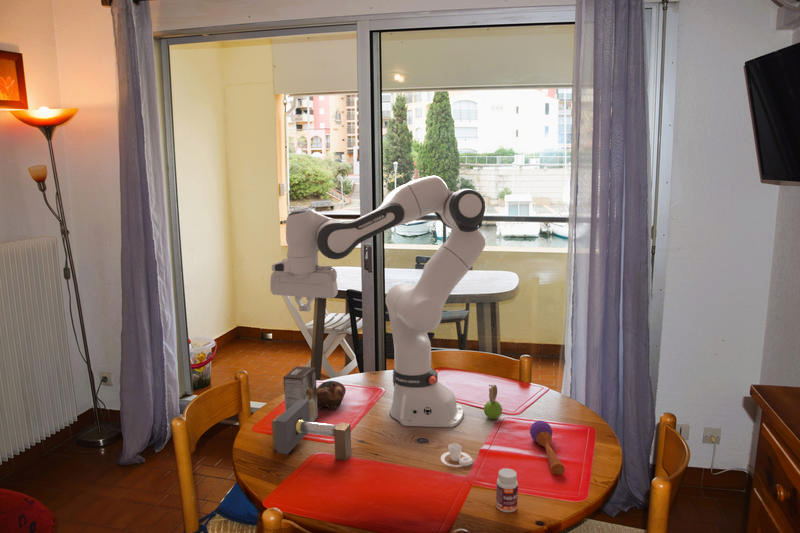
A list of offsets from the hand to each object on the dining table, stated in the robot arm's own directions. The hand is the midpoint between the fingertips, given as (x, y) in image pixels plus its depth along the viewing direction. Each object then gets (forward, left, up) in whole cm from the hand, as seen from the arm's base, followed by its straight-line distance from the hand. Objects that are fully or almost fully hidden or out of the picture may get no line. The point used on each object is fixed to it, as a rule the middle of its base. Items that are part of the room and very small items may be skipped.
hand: (305, 310), depth 173 cm
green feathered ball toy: (-54, -12, -33) cm, 65 cm away
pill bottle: (-63, +31, -33) cm, 78 cm away
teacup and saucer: (-48, +17, -34) cm, 61 cm away
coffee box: (0, +5, -33) cm, 34 cm away
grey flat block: (-5, +20, -31) cm, 37 cm away
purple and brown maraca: (-71, +5, -34) cm, 78 cm away
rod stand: (-10, +20, -33) cm, 40 cm away
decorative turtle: (-3, -9, -33) cm, 35 cm away
